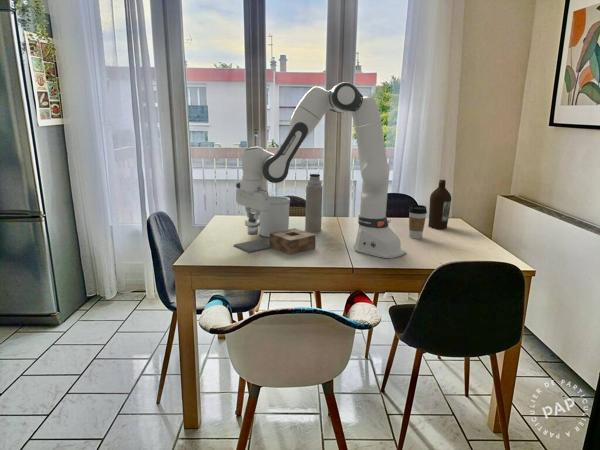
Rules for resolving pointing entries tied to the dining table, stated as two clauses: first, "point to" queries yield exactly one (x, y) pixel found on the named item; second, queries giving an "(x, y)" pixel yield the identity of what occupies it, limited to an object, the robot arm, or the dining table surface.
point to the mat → (253, 246)
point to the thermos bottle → (313, 204)
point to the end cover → (252, 224)
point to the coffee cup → (417, 220)
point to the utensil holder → (275, 216)
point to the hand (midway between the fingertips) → (252, 218)
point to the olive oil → (439, 207)
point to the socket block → (292, 241)
